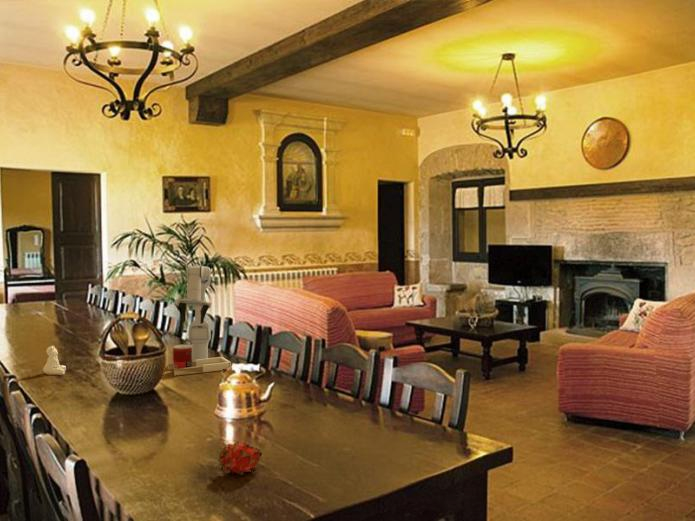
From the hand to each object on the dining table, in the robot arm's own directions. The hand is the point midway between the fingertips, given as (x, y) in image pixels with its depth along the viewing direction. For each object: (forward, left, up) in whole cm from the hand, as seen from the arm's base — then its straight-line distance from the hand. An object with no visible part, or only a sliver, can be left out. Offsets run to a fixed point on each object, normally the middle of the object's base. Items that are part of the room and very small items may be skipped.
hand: (192, 321), depth 250 cm
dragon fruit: (+105, -15, -23) cm, 109 cm away
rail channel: (-11, -1, -23) cm, 25 cm away
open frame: (-11, +11, -23) cm, 28 cm away
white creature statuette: (-35, -51, -23) cm, 66 cm away
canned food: (-11, -2, -23) cm, 25 cm away
